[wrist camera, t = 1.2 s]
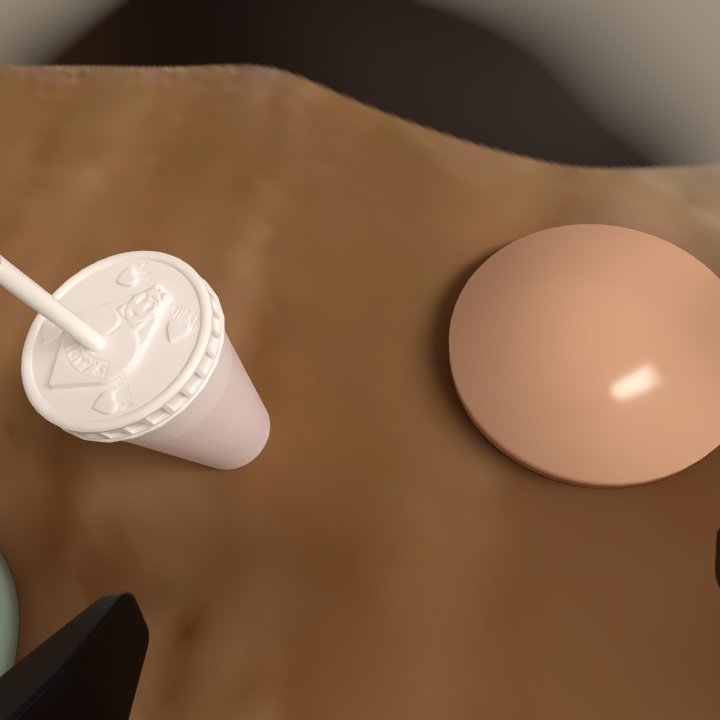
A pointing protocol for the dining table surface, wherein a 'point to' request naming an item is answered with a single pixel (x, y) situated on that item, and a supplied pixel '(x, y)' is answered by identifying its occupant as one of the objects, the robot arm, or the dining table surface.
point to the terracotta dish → (591, 355)
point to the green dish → (8, 618)
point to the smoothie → (140, 360)
